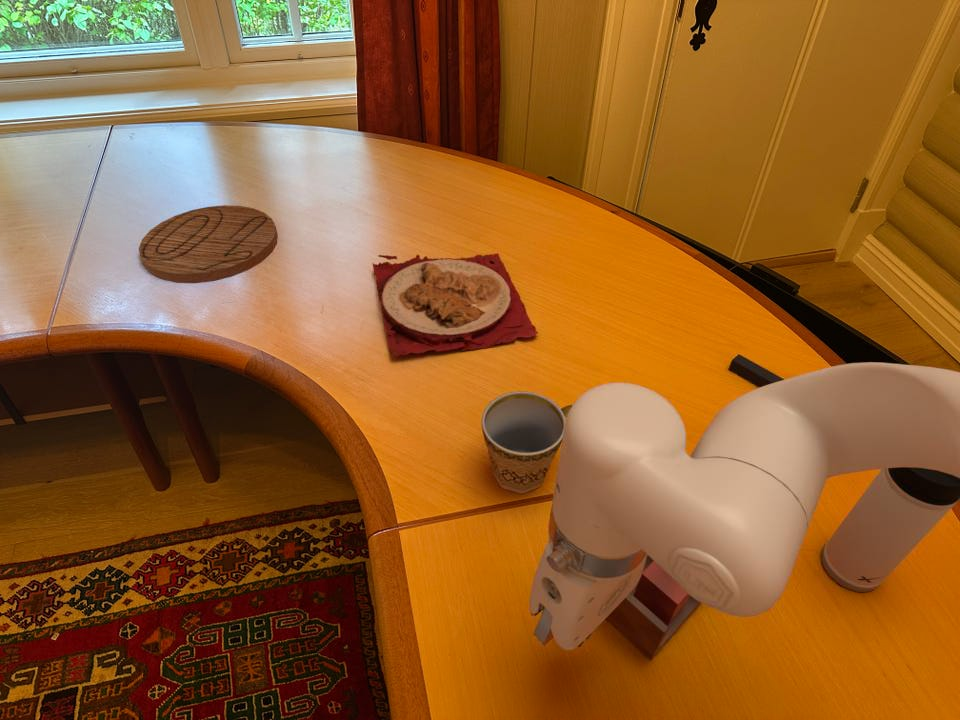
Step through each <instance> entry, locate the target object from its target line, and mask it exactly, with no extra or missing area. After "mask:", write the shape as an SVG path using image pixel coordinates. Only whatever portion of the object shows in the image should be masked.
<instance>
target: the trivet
mask: <svg viewBox="0 0 960 720" xmlns="http://www.w3.org/2000/svg"><path fill="white" fill-rule="evenodd" d="M278 236H279V234H278V229H277V227H276V224H275V222H274V220H273V218H272V217H270V216H269V215H268V214H267V213H265V212H264V211H261V210H259V209H256V208H253V207H248V206H243V205H230V204H229V205H228V204H224V205H213V206H204V207H201V208H196V209H195V208H194V209H191V210H187V211H185V212H182V213H178V214H176V215H173V216H171V217H170V218H168V219H165V220H163V221H161V222H160V223H157V225H155V226H154V227H152V228H151V229H150V230H149V231H147V233H146V234H145V235H144V236H143V238H142V239H141V241H140V243H139V246H138V253H139V258H140V260H141V263H142V264H143V266H144V268H145V269H146V270H147V271H148V272H149V274H151V275H153V276H155V277H157V278H159V279H161V280H166V281H169V282H170V281H171V282H174V283H186V284H187V283H188V284H189V283H190V284H195V283H196V284H198V283H205V282H214V281H217V280H222V279H225V278H226V279H227V278H230V277H233V276H236V275H239V274H241V273H243V272H246V271H249V270H250V269H252V268H253V267H256V266H257V265H259V264H261V263H262V262H263V261H265V260H266V259H267V258H268V257H269V256H270V255H271V254H272V253H273V251H274V250H275V248H276V246H277V244H278Z"/></svg>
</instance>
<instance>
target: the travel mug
mask: <svg viewBox="0 0 960 720" xmlns="http://www.w3.org/2000/svg"><path fill="white" fill-rule="evenodd" d="M879 470H880V471H879V472H878V473H877V474H876V476H875V477H874V479H873V480H872V481H871V482H870V484H869V485H868V487H866V489H865V491H864V492H863V493H862V495H861V496H860V498H859V499H858V500H857V501H856V502H855V504H854V506H853V507H852V508H851V509H850V511H849V512H848V513H847V515H845V517H844V519H843V520H842V522H841V523H840V524H839V525H838V527H836V530H835V531H834V533H832V535H831V536H830V538H829V539H828V541H827V542H825V544H824V546H823V548H822V549H821V552H820V560H821V565H822V566H823V568H824V571H826V573H827V574H828V576H830V578H831V579H832V580H833V581H834V582H836V583H837V584H838V585H840V586H842V587H843V588H846V589H848V590H850V591H853V592H858V593H869V592H872V591H874V590H876V589H877V588H878V587H879V586H880V585H881V584H882V583H883V582H884V581H885V580H886V579H887V578H888V577H889V576H890V575H891V573H892V572H893V571H894V570H896V568H897V567H898V566H899V565H900V564H901V563H902V562H903V560H905V559H906V557H908V555H909V554H910V553H911V552H912V551H913V550H914V549H915V548H916V547H917V546H918V545H919V543H920V542H921V541H922V540H923V539H924V538H925V537H926V536H927V535H928V534H929V533H930V532H931V531H932V530H933V529H934V527H936V525H938V524H939V522H940V521H941V520H942V519H943V518H944V517H945V516H946V515H947V514H948V513H949V512H950V511H951V510H952V509H953V507H955V505H956V504H957V503H958V502H959V501H960V478H958V477H956V476H954V475H951V474H948V473H944V472H941V471H938V470H931V469H925V468H913V467H897V468H884V469H879Z"/></svg>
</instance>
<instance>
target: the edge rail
mask: <svg viewBox="0 0 960 720" xmlns="http://www.w3.org/2000/svg"><path fill="white" fill-rule="evenodd" d="M728 370H729V371H731V372H733V373H734V374H736V375H738V376H739V377H741V378H743V379H744V380H746V381H748V382H750V383H751V384H753V385H755V386H756V387H757V388H760V387H763V386H766V385H769V384H772V383H775V382H778V381H782V380H785V378H783V377H781V376H780V375H778V374H775V373H774V372H772V371H770V370H769V369H766V367H763V366H761V365H759V364H758V363H756V362H754V361H753V360H751V359H749V358H747V357H745V356H743V355H742V354H741V353H740V354H739V353H738V354H737V355H735V357H733V358H732V360H731V361H730V364H729V366H728Z"/></svg>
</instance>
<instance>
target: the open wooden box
mask: <svg viewBox="0 0 960 720" xmlns="http://www.w3.org/2000/svg"><path fill="white" fill-rule="evenodd" d="M701 604H702V603H701V602H699V601H697V600H696V599H694V598H693V597H692V596H690V595H689V594H688V593H687V592H686V591H685V590H684V589H683V588H682V587H681V586H680V585H679V584H678V583H677V582H676V581H675V580H674V579H673V578H672V577H671V576H670V575H669V574H667V573H666V572H665V571H664V570H663V569H662V568H661V567H660V566H659V565H658V564H657V563H656V562H655V561H654V560H653V559H652V558H651V557H650V556H649V555H647V558H646V562H645V565H644V568H643V571H642V574H641V577H640V580H639V582H638V583H637V585H636V586H635V587H634V589H633V590H632V591H631V592H630V593H629V594H628V596H627V597H626V598H625V599H624V600H623V601H622V602H621V603H620V604H619V605H618V606H617V607H616V608H615V609H614V610H613V611H612V612H611V613H610V615H609V616H608V617H607V618H606V619H605V620H607V621H608V622H609V623H610V624H611V625H612V626H613V627H614V628H615V629H616V630H617V631H618V632H620V633H621V634H622V635H623V636H624V637H625V638H626V639H627V640H628V641H629V642H630V643H631V644H632V645H633V646H635V647H636V649H638V650H639V651H640V652H641V654H643V655H644V656H645V657H646V658H647V659H648V660H649V661H652V660H653V659H654V658H655V657H656V656H657V655H658V654H659V653H660V651H662V649H663V648H664V647H665V645H666V644H667V643H668V642H669V641H670V640H671V639H672V638H673V636H674V635H676V633H677V632H678V631H679V629H680V628H681V627H682V626H683V625H684V624H685V623H686V621H687V620H688V619H689V618H690V617H691V616H692V615H693V613H695V611H696V610H697V609H698V607H699V606H700V605H701Z"/></svg>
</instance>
